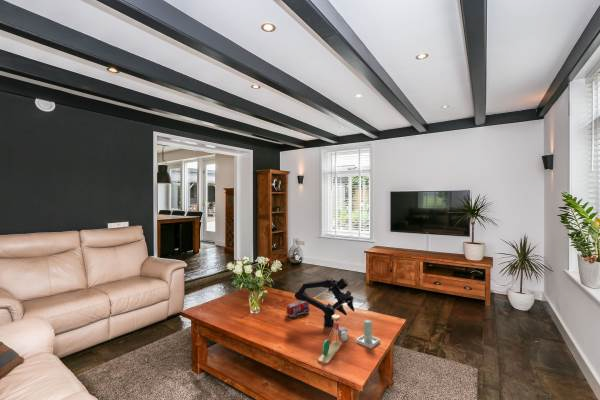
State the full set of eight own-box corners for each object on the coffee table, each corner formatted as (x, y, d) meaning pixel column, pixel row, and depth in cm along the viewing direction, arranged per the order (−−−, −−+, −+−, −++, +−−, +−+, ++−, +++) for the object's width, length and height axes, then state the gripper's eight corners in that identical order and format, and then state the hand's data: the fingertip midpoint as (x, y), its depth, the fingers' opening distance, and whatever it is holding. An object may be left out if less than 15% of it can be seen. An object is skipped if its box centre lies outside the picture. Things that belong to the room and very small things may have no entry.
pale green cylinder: (366, 344, 182) (366, 324, 182) (362, 340, 187) (362, 320, 187) (373, 342, 184) (373, 322, 184) (369, 338, 189) (368, 319, 189)
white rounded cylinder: (341, 341, 188) (341, 334, 187) (340, 337, 192) (340, 331, 192) (348, 340, 188) (348, 334, 188) (346, 337, 192) (346, 330, 192)
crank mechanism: (333, 342, 186) (333, 313, 186) (343, 344, 183) (342, 315, 183) (317, 362, 164) (316, 329, 164) (327, 365, 161) (327, 332, 161)
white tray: (356, 342, 186) (356, 339, 186) (365, 336, 194) (365, 333, 194) (371, 348, 178) (371, 345, 178) (380, 342, 186) (380, 339, 186)
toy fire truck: (310, 313, 230) (310, 301, 230) (291, 319, 220) (290, 306, 220) (304, 310, 238) (304, 298, 238) (285, 315, 228) (285, 303, 227)
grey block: (340, 336, 194) (340, 330, 193) (338, 333, 198) (338, 327, 198) (347, 336, 194) (347, 330, 194) (345, 332, 199) (344, 326, 199)
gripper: (335, 291, 195) (349, 311, 188) (351, 284, 209) (364, 303, 201) (327, 299, 201) (339, 319, 194) (342, 292, 214) (355, 311, 207)
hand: (350, 313), depth 199 cm, fingers open, 9 cm apart
